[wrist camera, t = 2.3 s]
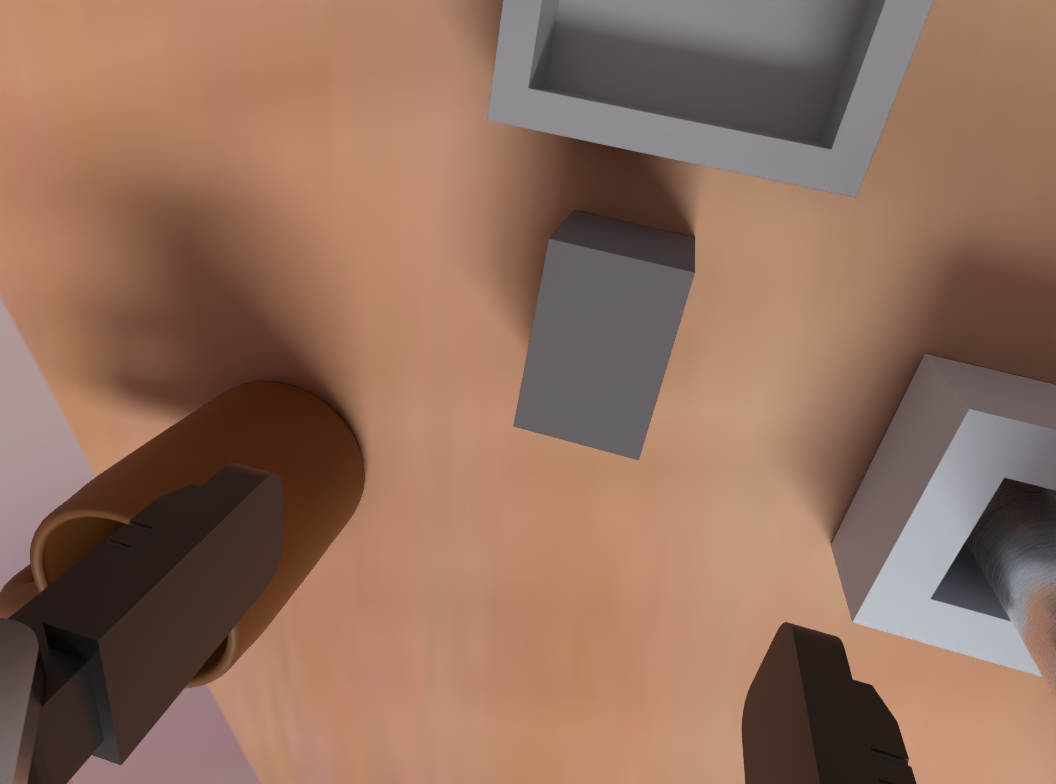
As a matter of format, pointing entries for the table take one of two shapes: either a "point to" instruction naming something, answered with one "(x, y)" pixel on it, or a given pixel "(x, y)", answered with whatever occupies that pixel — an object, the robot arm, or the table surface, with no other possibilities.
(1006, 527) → the pin
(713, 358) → the table surface
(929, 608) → the socket
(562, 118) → the tray
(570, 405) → the block
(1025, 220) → the table surface
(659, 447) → the table surface
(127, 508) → the mug
